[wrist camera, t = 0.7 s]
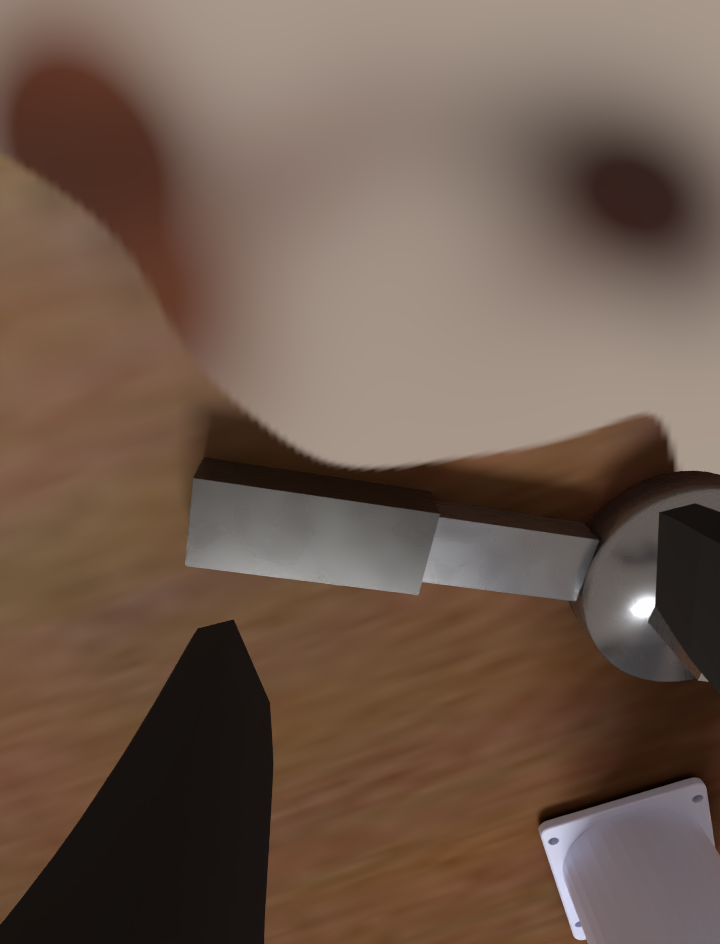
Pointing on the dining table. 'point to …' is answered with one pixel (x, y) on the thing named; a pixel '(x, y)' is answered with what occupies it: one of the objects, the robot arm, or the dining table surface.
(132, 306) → the dining table surface
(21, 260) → the dining table surface
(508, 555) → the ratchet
